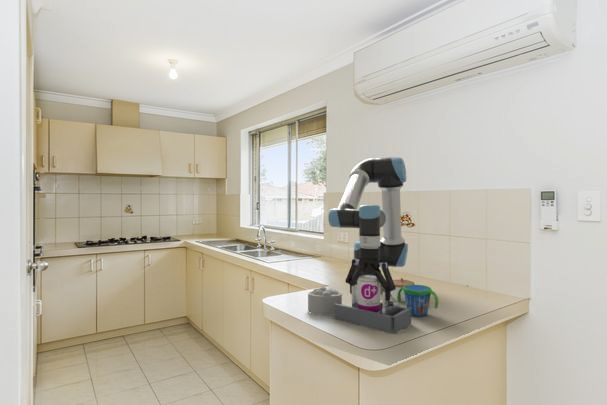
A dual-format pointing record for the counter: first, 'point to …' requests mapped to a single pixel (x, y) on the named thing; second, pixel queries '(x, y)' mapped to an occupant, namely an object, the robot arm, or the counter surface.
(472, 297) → the counter surface
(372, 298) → the supplement can
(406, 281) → the lidded jar
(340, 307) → the gray storage bin
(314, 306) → the lumpy-topped squat cylinder
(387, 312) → the pusher
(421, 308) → the snack cup
